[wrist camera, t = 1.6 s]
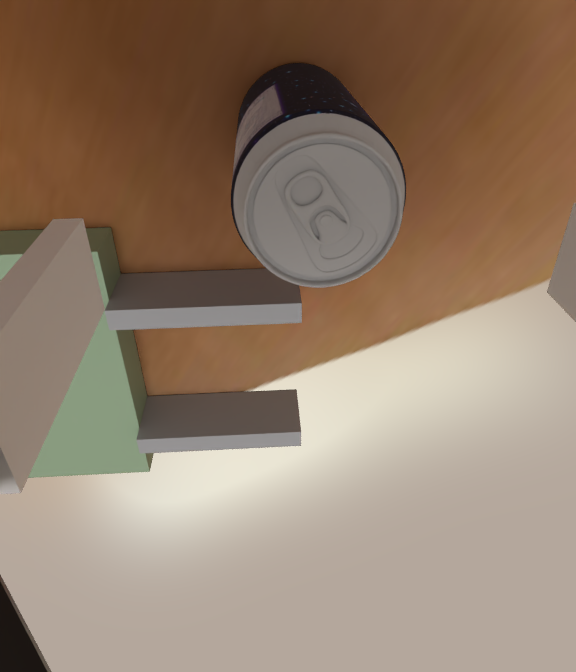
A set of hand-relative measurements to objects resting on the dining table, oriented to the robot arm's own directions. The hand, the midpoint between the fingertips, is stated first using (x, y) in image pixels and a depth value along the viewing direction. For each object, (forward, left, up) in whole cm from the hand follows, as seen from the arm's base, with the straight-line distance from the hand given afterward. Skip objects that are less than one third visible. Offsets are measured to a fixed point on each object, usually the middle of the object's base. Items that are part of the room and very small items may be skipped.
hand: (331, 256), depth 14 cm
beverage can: (0, 0, -14) cm, 14 cm away
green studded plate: (+13, -11, -14) cm, 22 cm away
